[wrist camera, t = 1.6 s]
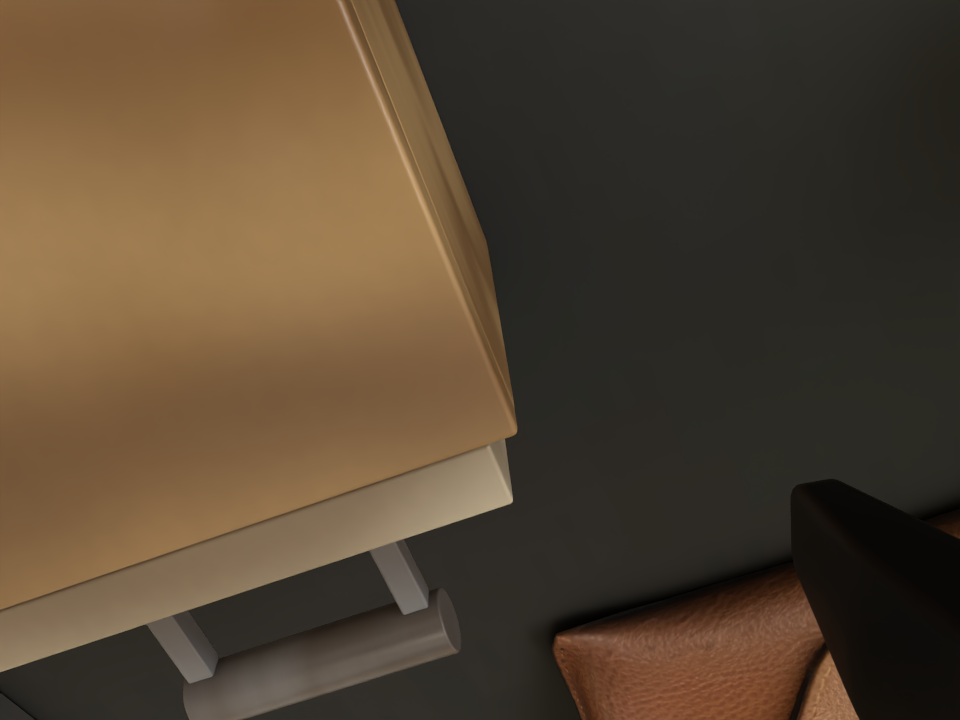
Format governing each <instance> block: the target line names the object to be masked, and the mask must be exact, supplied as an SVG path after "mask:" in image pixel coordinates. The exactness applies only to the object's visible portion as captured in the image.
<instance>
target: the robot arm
mask: <svg viewBox="0 0 960 720" xmlns="http://www.w3.org/2000/svg"><path fill="white" fill-rule="evenodd" d="M791 548H792V558H793V563H794V567H795V570H796V573H797V576H798V578H799V581H800V583H801V585H802V588H803V590H804V593H805V595H806V597H807V600H808V602H809V604H810V607H811V609H812V612H813V614H814V616H815V619H816V621H817V623H818V626H819V628H820V631H821V633H822V635H823V638H824V640H825V642H826V645H827V647H828V650H829V652H830V654H831V657H832V659H833V661H834V664H835V666H836V669H837V671H838V673H839V676H840V678H841V680H842V683H843V685H844V688H845V690H846V692H847V694H848V697H849V699H850V701H851V703H852V706H853V708H854V710H855V712H856V714H857V716H858V718H859V720H960V539H959V538H957V537H955V536H953V535H951V534H949V533H947V532H945V531H942V530H940V529H938V528H936V527H934V526H932V525H930V524H928V523H926V522H924V521H922V520H920V519H918V518H916V517H913V516H911V515H909V514H907V513H905V512H903V511H901V510H899V509H897V508H895V507H893V506H891V505H889V504H887V503H884V502H882V501H880V500H878V499H876V498H874V497H872V496H870V495H868V494H866V493H864V492H862V491H860V490H858V489H856V488H853V487H851V486H849V485H847V484H845V483H843V482H841V481H838V480H835V479H827V480H821V481H815V482H810V483H804V484H799V485H797V486H796V487H795V488H794V489H793V490H792V494H791Z"/></svg>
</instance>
